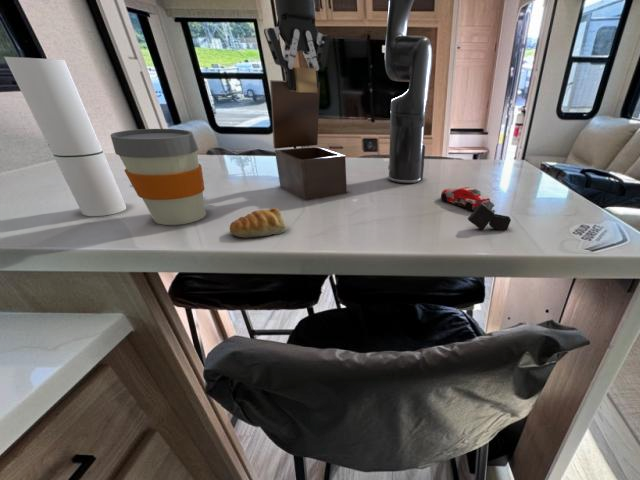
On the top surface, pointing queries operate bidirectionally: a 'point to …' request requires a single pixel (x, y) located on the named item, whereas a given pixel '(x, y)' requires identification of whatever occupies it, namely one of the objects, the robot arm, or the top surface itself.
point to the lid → (293, 116)
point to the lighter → (488, 217)
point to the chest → (311, 172)
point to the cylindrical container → (68, 133)
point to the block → (305, 80)
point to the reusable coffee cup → (164, 172)
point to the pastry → (259, 224)
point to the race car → (465, 197)
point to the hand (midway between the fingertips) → (303, 90)
